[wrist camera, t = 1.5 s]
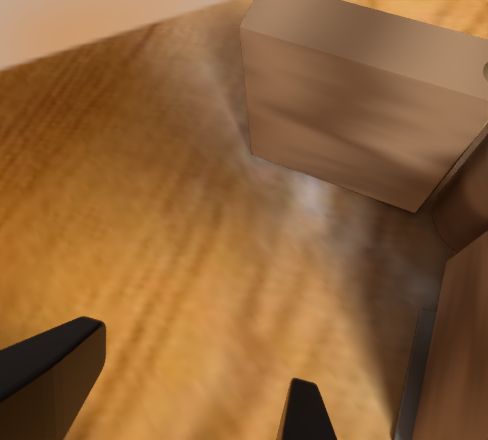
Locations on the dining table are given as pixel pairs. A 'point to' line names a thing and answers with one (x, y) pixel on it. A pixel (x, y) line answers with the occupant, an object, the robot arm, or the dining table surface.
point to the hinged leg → (361, 95)
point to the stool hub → (454, 321)
